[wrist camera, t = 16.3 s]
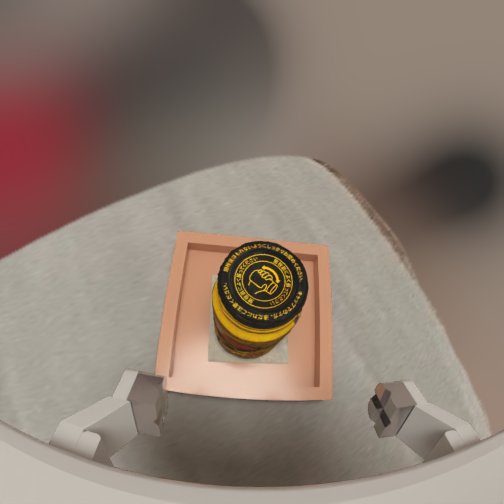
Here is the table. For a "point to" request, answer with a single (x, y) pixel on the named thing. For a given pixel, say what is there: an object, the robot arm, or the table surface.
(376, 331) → the table surface
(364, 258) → the table surface
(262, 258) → the condiment
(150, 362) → the table surface
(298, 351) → the tray
